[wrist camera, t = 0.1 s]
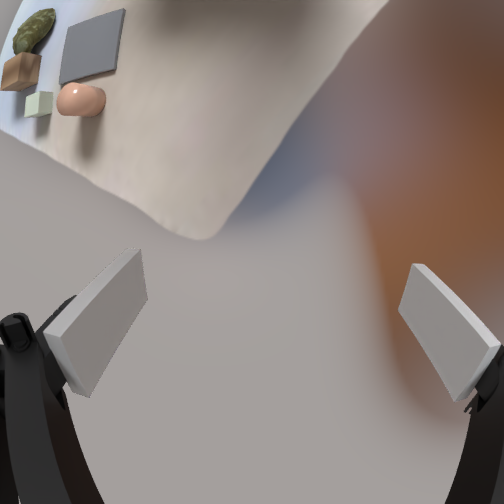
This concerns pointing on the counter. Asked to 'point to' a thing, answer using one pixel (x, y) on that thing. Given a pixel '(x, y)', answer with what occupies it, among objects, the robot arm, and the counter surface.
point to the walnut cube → (20, 72)
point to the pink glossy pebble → (80, 100)
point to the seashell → (33, 30)
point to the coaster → (92, 47)
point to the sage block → (38, 104)
